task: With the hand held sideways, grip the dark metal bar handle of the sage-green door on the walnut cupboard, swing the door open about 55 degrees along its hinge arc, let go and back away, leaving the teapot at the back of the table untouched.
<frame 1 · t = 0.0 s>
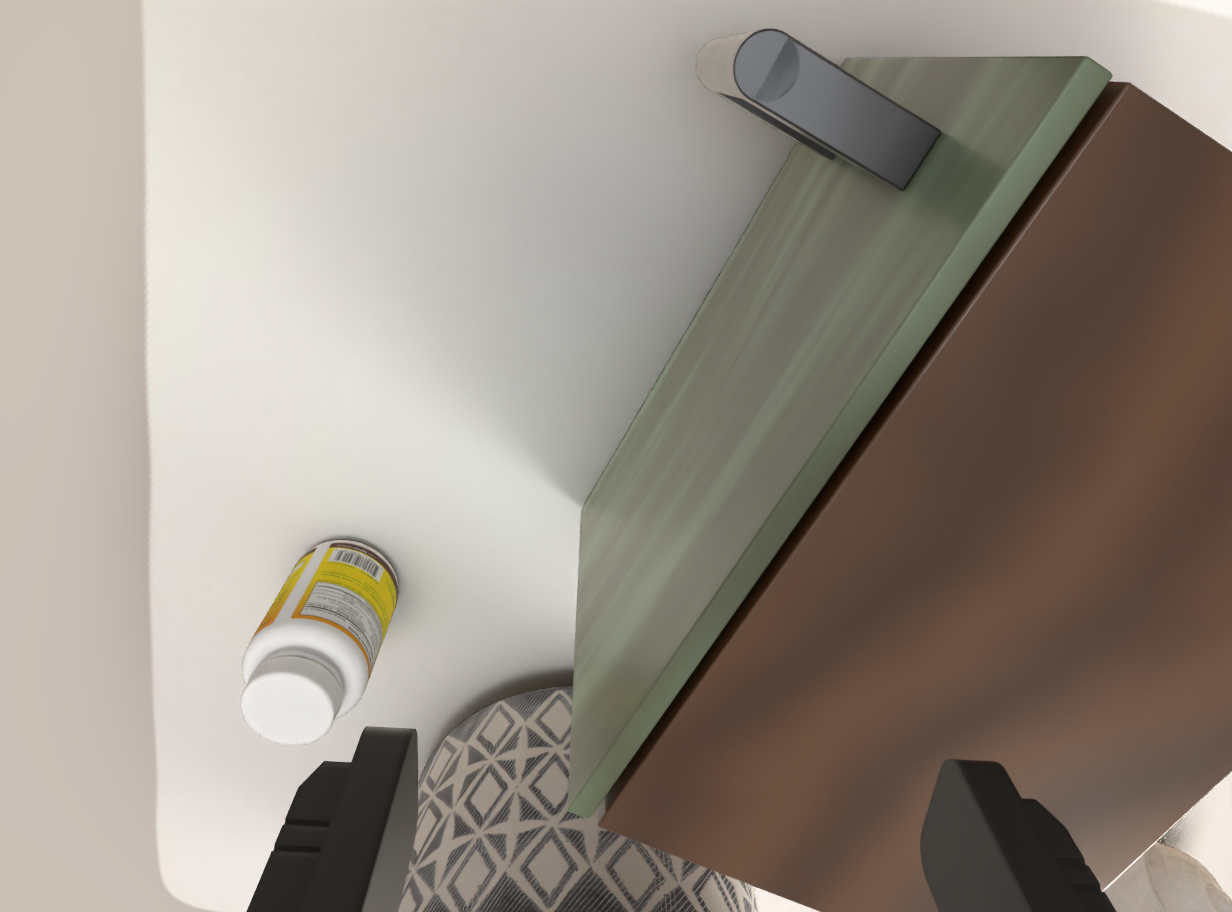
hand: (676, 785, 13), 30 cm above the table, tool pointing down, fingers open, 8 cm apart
cupboard door: (665, 346, 31), point 10 cm above the table, hinge at 0.0°
cupboard: (859, 392, 43), on the table
supplement bottle: (350, 578, 47), on the table
planter: (576, 786, 53), on the table
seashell: (1050, 875, 57), on the table
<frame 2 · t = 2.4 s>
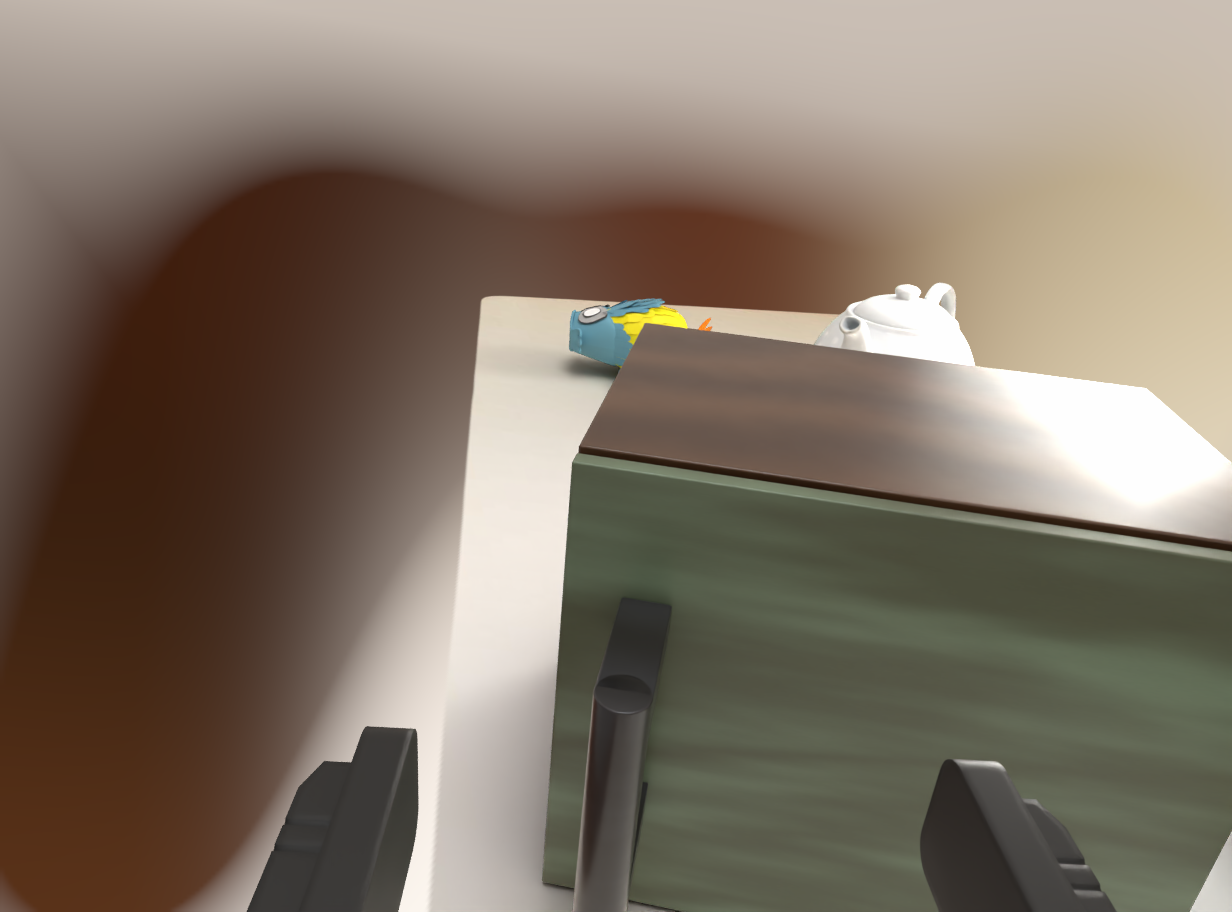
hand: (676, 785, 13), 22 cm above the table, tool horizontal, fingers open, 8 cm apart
cupboard door: (887, 813, 29), point 10 cm above the table, hinge at 0.0°
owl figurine: (635, 377, 97), on the table
cupboard: (819, 782, 44), on the table
teapot: (882, 412, 94), on the table
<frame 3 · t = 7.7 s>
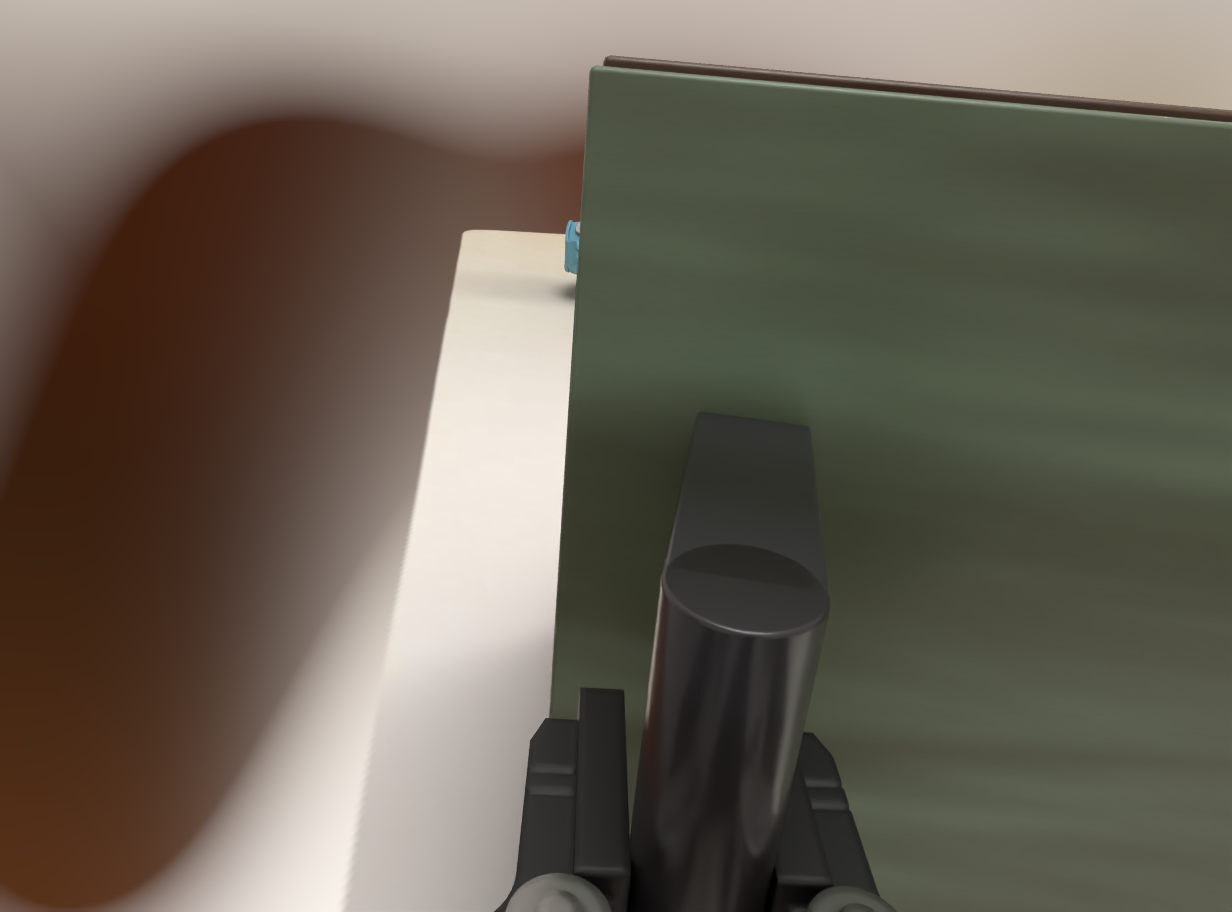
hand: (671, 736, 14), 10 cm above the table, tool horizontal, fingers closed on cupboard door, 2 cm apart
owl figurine: (644, 303, 81), on the table
cupboard: (979, 800, 27), on the table
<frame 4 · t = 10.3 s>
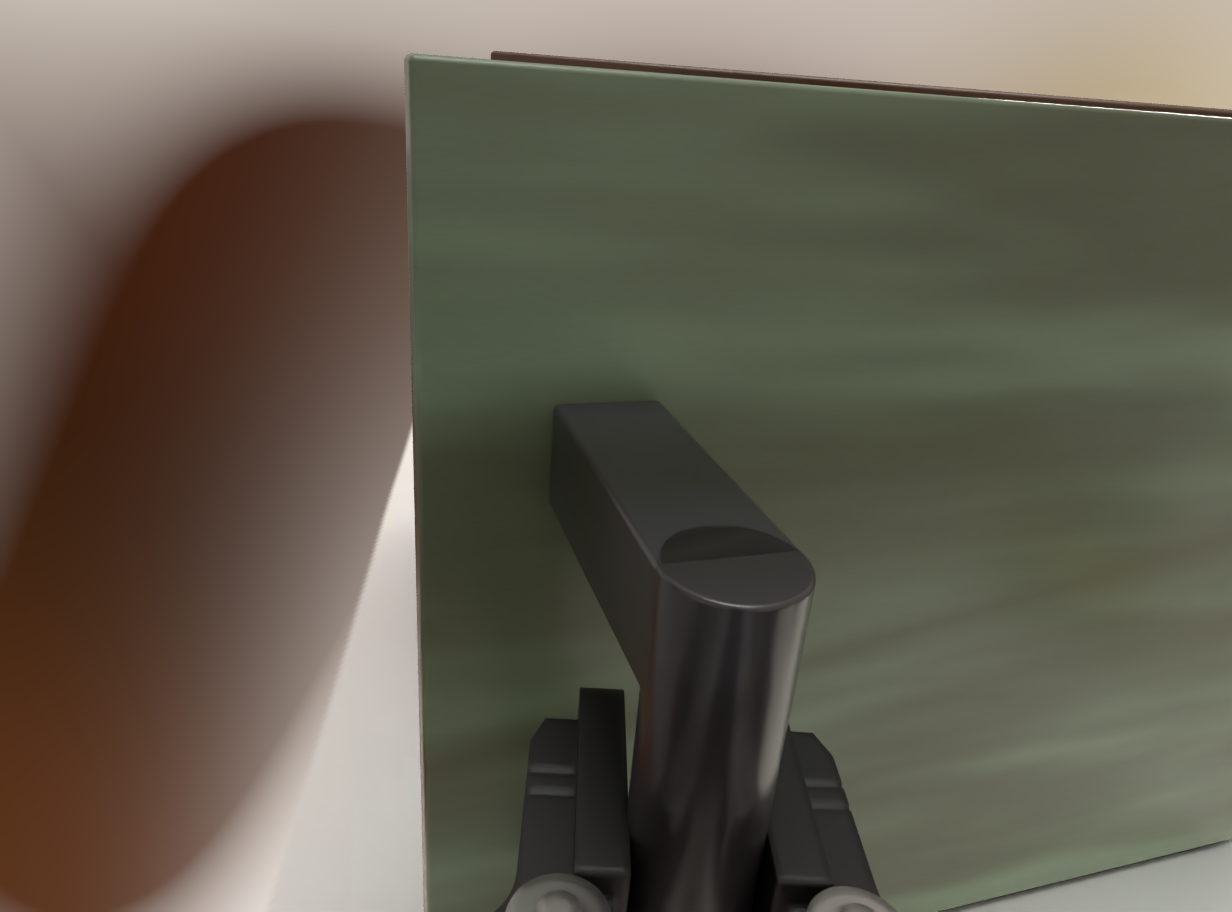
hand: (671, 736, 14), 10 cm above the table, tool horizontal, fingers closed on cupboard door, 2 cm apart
cupboard door: (1083, 679, 17), point 10 cm above the table, hinge at 27.8°, touching gripper
cupboard: (822, 609, 36), on the table
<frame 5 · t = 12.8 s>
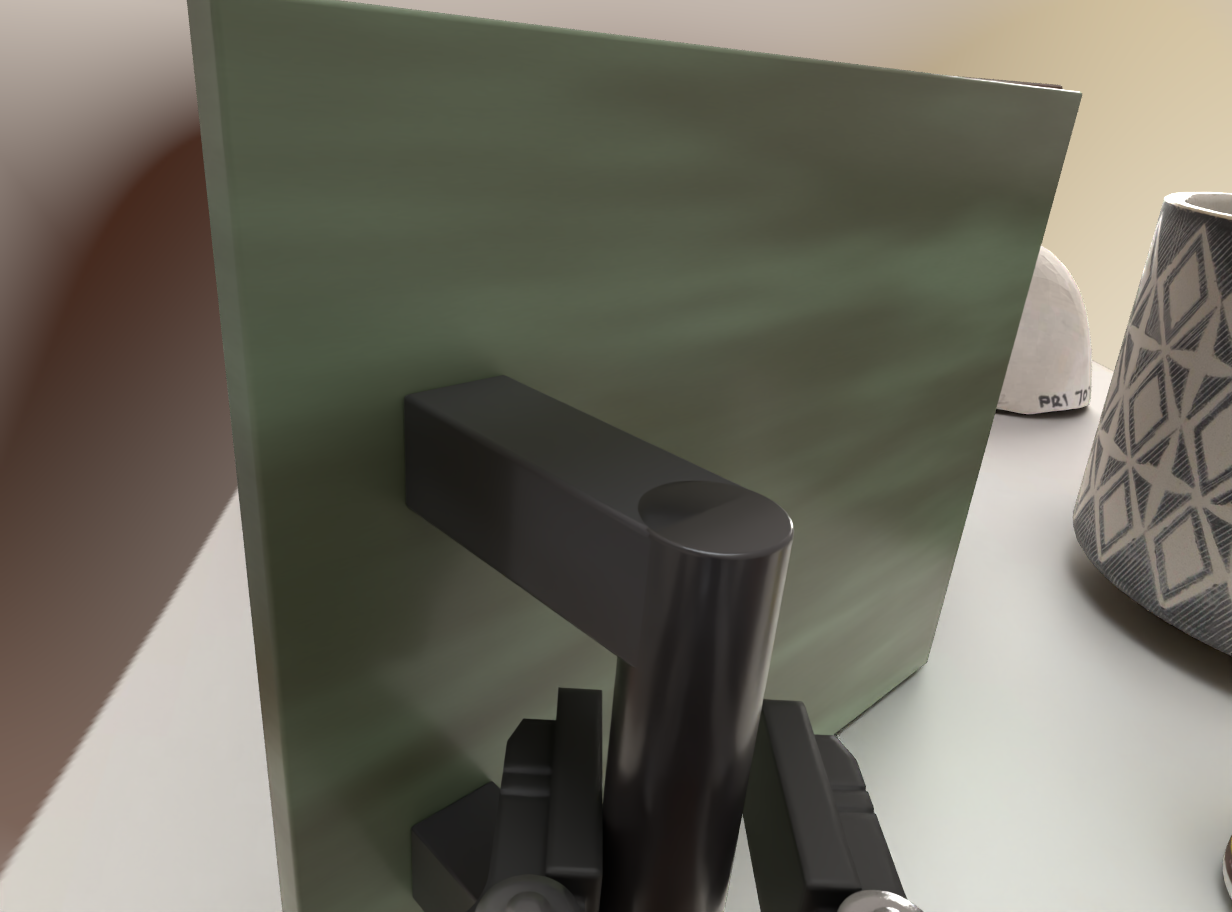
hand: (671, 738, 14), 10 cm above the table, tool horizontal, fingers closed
cupboard door: (866, 562, 19), point 10 cm above the table, hinge at 53.1°
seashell: (971, 380, 67), on the table
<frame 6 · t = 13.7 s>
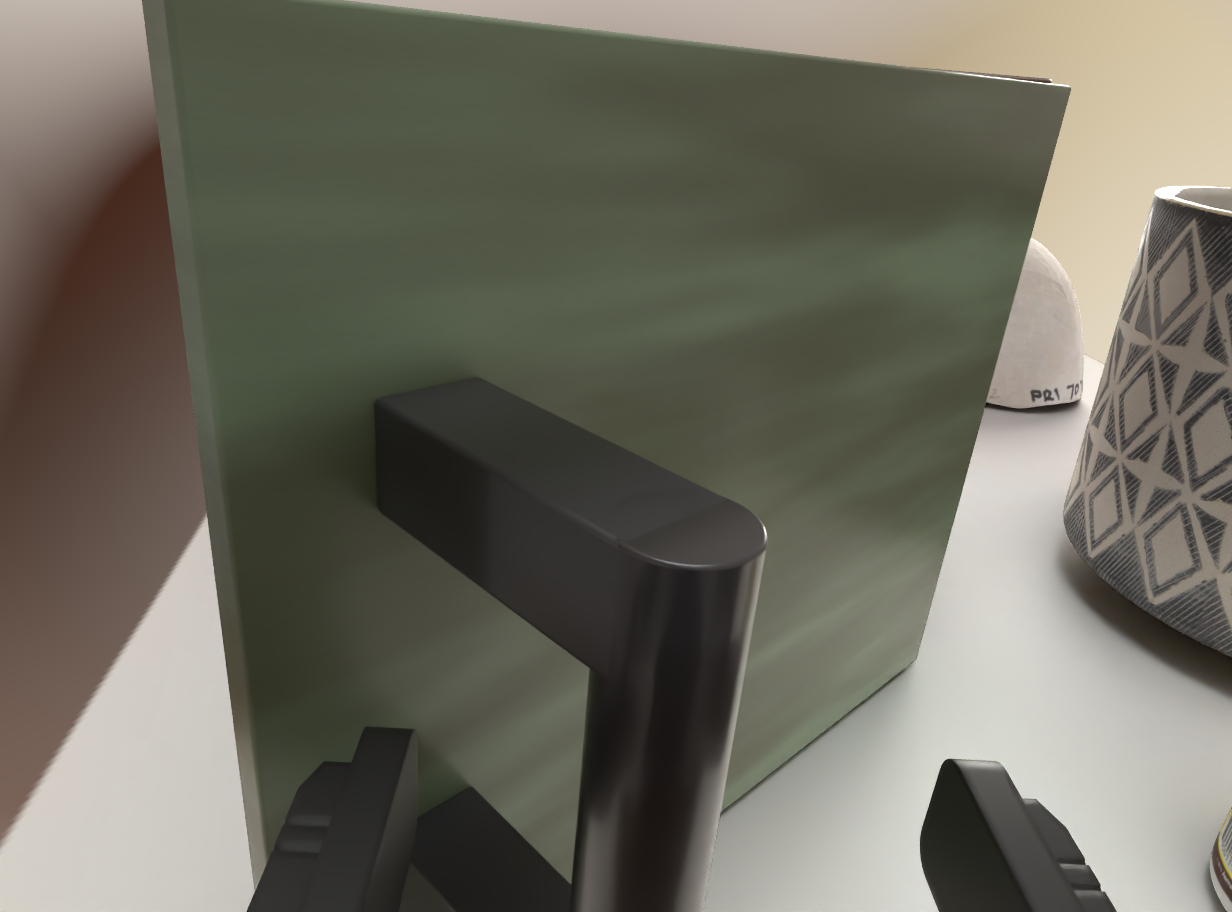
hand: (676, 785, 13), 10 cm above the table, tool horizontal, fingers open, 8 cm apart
cupboard door: (851, 562, 19), point 10 cm above the table, hinge at 53.1°
cupboard: (625, 508, 42), on the table
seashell: (963, 374, 67), on the table
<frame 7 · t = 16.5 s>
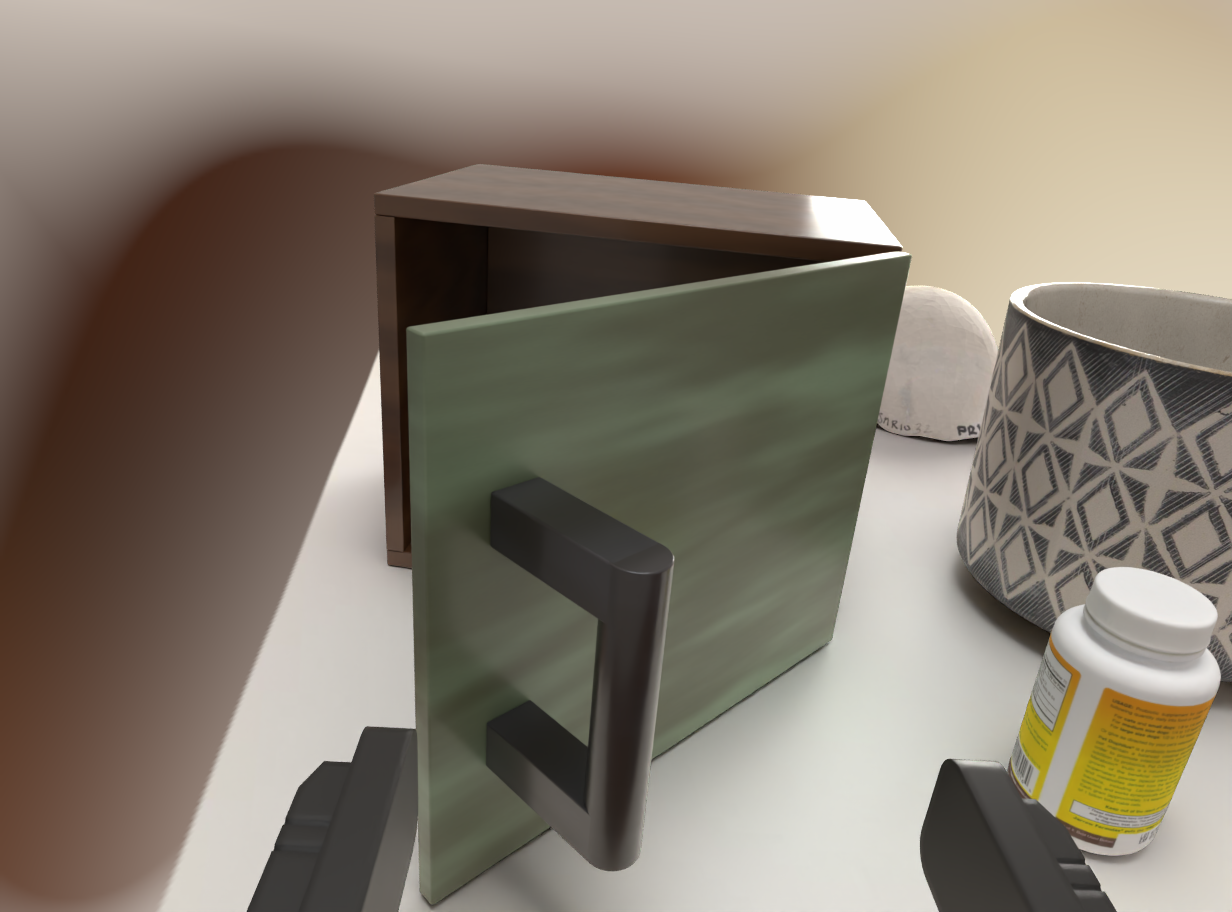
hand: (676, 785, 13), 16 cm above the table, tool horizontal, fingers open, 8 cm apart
cupboard door: (754, 570, 31), point 10 cm above the table, hinge at 53.1°
cupboard: (621, 528, 54), on the table
supplement bottle: (1073, 810, 36), on the table
planter: (1114, 606, 51), on the table
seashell: (908, 409, 79), on the table
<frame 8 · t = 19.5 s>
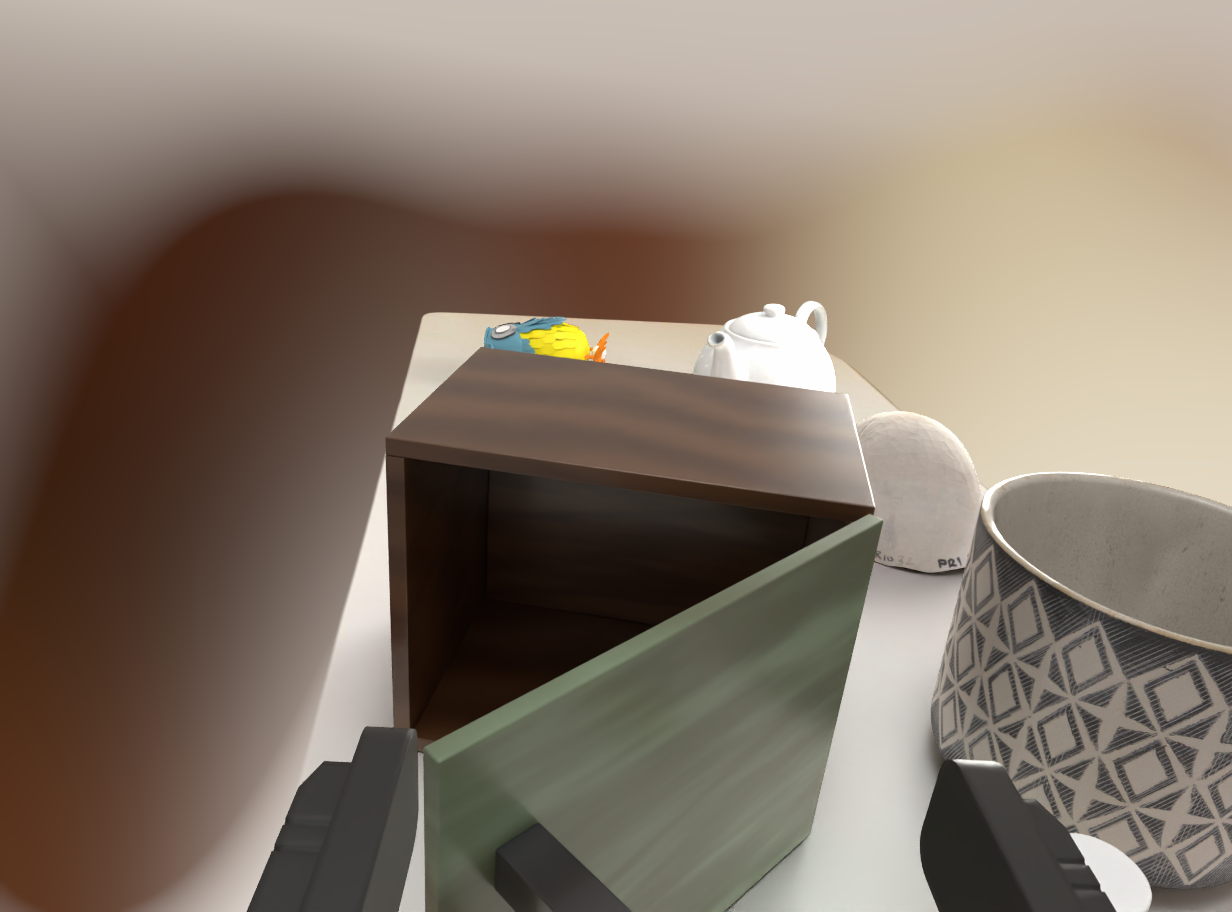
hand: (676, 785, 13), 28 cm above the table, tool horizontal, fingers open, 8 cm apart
cupboard door: (733, 849, 35), point 10 cm above the table, hinge at 53.1°
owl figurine: (544, 385, 111), on the table
cupboard: (615, 694, 58), on the table
planter: (1077, 782, 54), on the table
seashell: (892, 529, 83), on the table
teapot: (759, 414, 108), on the table
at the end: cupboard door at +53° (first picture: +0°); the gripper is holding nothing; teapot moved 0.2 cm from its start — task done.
